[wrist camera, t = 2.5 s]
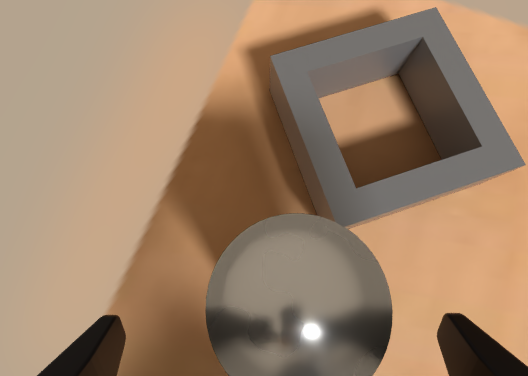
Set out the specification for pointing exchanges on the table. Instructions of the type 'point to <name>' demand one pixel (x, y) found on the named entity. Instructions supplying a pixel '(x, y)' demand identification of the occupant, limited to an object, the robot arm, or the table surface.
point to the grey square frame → (424, 98)
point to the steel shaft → (298, 301)
